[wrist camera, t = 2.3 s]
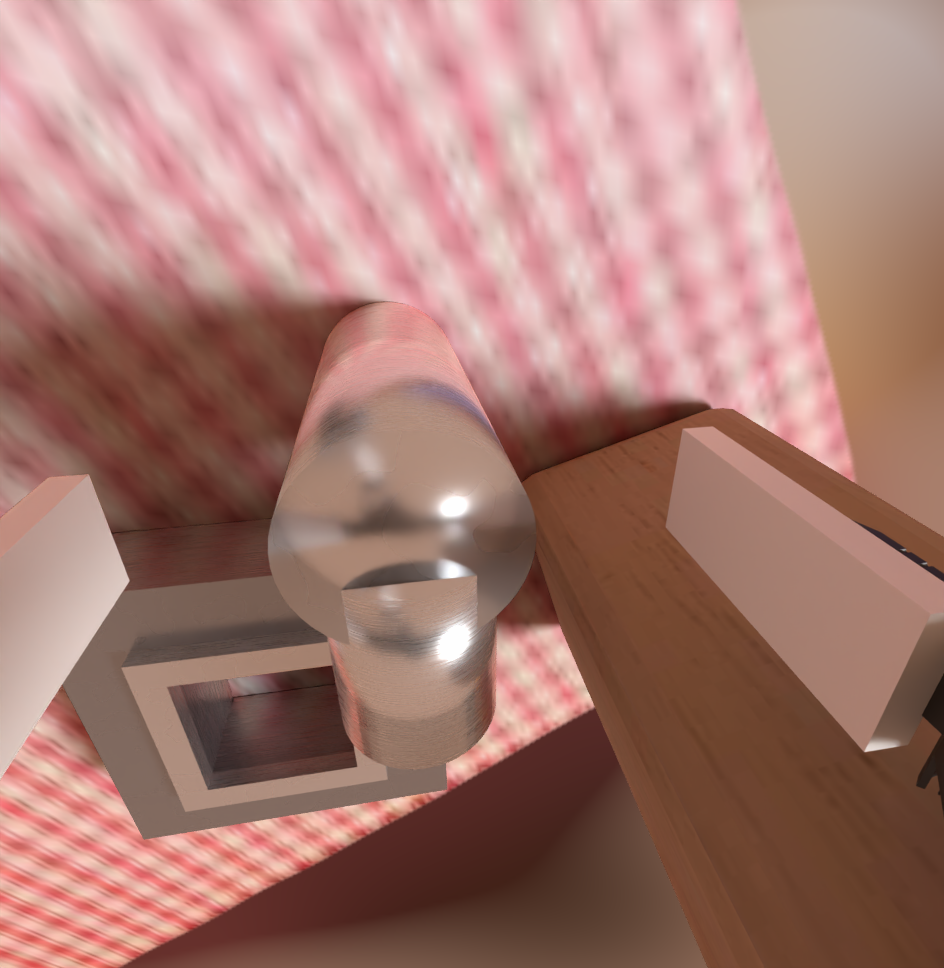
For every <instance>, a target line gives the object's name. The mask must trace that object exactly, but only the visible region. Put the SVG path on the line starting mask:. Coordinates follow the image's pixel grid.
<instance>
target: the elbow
mask: <svg viewBox="0 0 944 968" xmlns="http://www.w3.org/2000/svg"><path fill="white" fill-rule="evenodd" d="M535 548H536V522H535V517H534V511H533V509H532V506H531V503H530V500H529V498H528V496H527V494H526V492H525V490H524V488H523V486H522V484H521V482H520V480H519V478H518V476H517V474H516V472H515V470H514V468H513V466H512V464H511V462H510V460H509V458H508V456H507V454H506V452H505V450H504V448H503V446H502V445H501V443H500V441H499V439H498V437H497V435H496V433H495V431H494V429H493V427H492V425H491V423H490V421H489V419H488V417H487V415H486V413H485V411H484V409H483V407H482V405H481V403H480V401H479V399H478V397H477V395H476V393H475V392H474V390H473V388H472V386H471V384H470V382H469V380H468V378H467V376H466V374H465V372H464V370H463V368H462V366H461V364H460V362H459V360H458V358H457V356H456V354H455V352H454V350H453V348H452V346H451V344H450V342H449V341H448V339H447V337H446V335H445V333H444V332H443V331H442V329H441V328H440V326H439V325H438V324H437V323H436V322H435V321H434V320H433V319H431V318H430V317H429V316H428V315H426V314H425V313H423V312H422V311H420V310H418V309H416V308H414V307H411V306H408V305H405V304H402V303H395V302H378V303H372V304H368V305H365V306H362V307H360V308H357V309H355V310H354V311H352V312H350V313H349V314H347V315H346V316H345V317H344V318H342V319H341V320H340V321H339V322H338V323H337V324H336V326H335V327H334V328H333V330H332V331H331V333H330V335H329V337H328V339H327V341H326V343H325V346H324V349H323V352H322V356H321V359H320V362H319V366H318V369H317V372H316V375H315V379H314V382H313V385H312V389H311V392H310V395H309V398H308V402H307V405H306V408H305V412H304V415H303V418H302V422H301V425H300V428H299V431H298V435H297V438H296V441H295V445H294V448H293V451H292V454H291V458H290V461H289V464H288V468H287V471H286V474H285V477H284V481H283V484H282V487H281V491H280V494H279V497H278V500H277V504H276V507H275V510H274V514H273V517H272V520H271V524H270V530H269V535H268V558H269V564H270V569H271V572H272V575H273V578H274V582H275V584H276V586H277V587H278V589H279V591H280V593H281V595H282V597H283V598H284V599H285V601H286V602H287V604H288V605H289V606H290V608H291V609H292V610H293V611H294V612H295V613H296V614H297V615H298V616H299V617H300V618H301V619H302V620H304V621H305V622H306V623H307V624H309V625H310V626H311V627H313V628H314V629H316V630H317V631H319V632H321V633H322V634H324V635H326V636H327V640H328V646H329V651H330V656H331V662H332V667H333V672H334V678H335V683H336V688H337V693H338V699H339V704H340V709H341V715H342V720H343V725H344V728H345V731H346V733H347V735H348V737H349V739H350V740H351V742H352V743H353V744H354V746H355V747H356V748H357V749H358V750H359V751H360V752H361V753H363V754H364V755H365V756H367V757H368V758H370V759H371V760H373V761H375V762H378V763H380V764H382V765H385V766H389V767H392V768H399V769H414V770H415V769H425V768H430V767H435V766H439V765H442V764H444V763H447V762H450V761H452V760H454V759H456V758H458V757H459V756H461V755H462V754H464V753H466V752H467V751H468V750H470V749H471V748H472V747H473V746H474V745H475V744H476V743H477V742H478V741H479V740H480V739H481V738H482V737H483V735H484V734H485V732H486V731H487V729H488V727H489V725H490V723H491V721H492V718H493V715H494V712H495V706H496V636H497V615H498V614H499V613H500V612H501V611H502V610H503V609H504V608H505V607H506V606H507V605H508V604H509V603H510V602H511V600H512V599H513V598H514V597H515V595H516V594H517V593H518V591H519V590H520V588H521V586H522V585H523V583H524V581H525V580H526V577H527V575H528V573H529V570H530V568H531V565H532V562H533V558H534V554H535Z"/></svg>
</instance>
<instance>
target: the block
mask: <svg viewBox="0 0 944 968" xmlns="http://www.w3.org/2000/svg"><path fill="white" fill-rule="evenodd" d="M712 426H713V427H714V428H716V429H717V430H719V431H720V432H722V433H723V434H725V435H726V436H728V437H729V438H731V439H732V440H734V441H735V442H737V443H738V444H739V445H741V446H742V447H744V448H745V449H747V450H748V451H750V452H751V453H753V454H754V455H756V456H757V457H759V458H760V459H762V460H763V461H765V462H766V463H768V464H769V465H771V466H772V467H774V468H775V469H777V470H778V471H780V472H781V473H783V474H784V475H786V476H787V477H788V478H790V479H791V480H793V481H794V482H796V483H797V484H799V485H800V486H802V487H803V488H805V489H806V490H808V491H809V492H811V493H812V494H814V495H815V496H817V497H818V498H820V499H821V500H823V501H824V502H826V503H827V504H829V505H830V506H832V507H833V508H835V509H836V510H837V511H839V512H840V513H842V514H843V515H845V516H846V517H848V518H849V519H851V520H853V521H856V522H858V523H861V524H863V525H865V526H868V527H870V528H872V529H875V530H877V531H879V532H882V533H883V534H885V535H886V536H888V537H889V538H891V539H892V540H894V541H895V542H897V543H898V544H900V545H901V546H903V547H904V548H906V551H907V552H912V553H914V554H915V555H917V556H918V557H920V558H921V559H923V560H924V561H926V562H927V565H928V566H933V567H935V568H936V569H938V570H939V571H941V572H942V573H944V537H943V536H941V535H940V534H938V533H936V532H934V531H933V530H931V529H929V528H928V527H926V526H925V525H923V524H921V523H919V522H918V521H916V520H915V519H913V518H911V517H910V516H908V515H907V514H905V513H903V512H901V511H900V510H898V509H897V508H895V507H893V506H892V505H890V504H888V503H887V502H885V501H883V500H882V499H880V498H878V497H877V496H875V495H874V494H872V493H870V492H869V491H867V490H865V489H864V488H862V487H860V486H859V485H857V484H855V483H854V482H852V481H850V480H849V479H847V478H846V477H844V476H842V475H841V474H839V473H837V472H836V471H834V470H832V469H831V468H829V467H827V466H826V465H824V464H822V463H821V462H819V461H817V460H816V459H814V458H813V457H811V456H809V455H808V454H806V453H804V452H803V451H801V450H799V449H798V448H796V447H794V446H793V445H791V444H789V443H788V442H786V441H784V440H783V439H781V438H780V437H778V436H776V435H775V434H773V433H771V432H770V431H768V430H766V429H765V428H763V427H761V426H760V425H758V424H756V423H755V422H753V421H751V420H750V419H748V418H747V417H745V416H743V415H742V414H740V413H738V412H737V411H735V410H733V409H724V408H722V409H708V410H705V411H702V412H700V413H697V414H694V415H692V416H689V417H686V418H683V419H681V420H678V421H675V422H673V423H670V424H667V425H664V426H662V427H659V428H656V429H654V430H651V431H648V432H645V433H643V434H640V435H637V436H635V437H632V438H629V439H626V440H624V441H621V442H618V443H616V444H613V445H610V446H607V447H605V448H602V449H599V450H597V451H594V452H591V453H589V454H586V455H583V456H580V457H578V458H575V459H572V460H570V461H567V462H564V463H561V464H559V465H556V466H553V467H551V468H548V469H545V470H542V471H540V472H537V473H534V474H532V475H531V476H530V477H529V478H527V479H526V480H525V481H523V482H522V486H523V488H524V490H525V492H526V494H527V496H528V498H529V500H530V503H531V506H532V509H533V511H534V517H535V522H536V548H535V551H536V554H537V557H538V560H539V563H540V566H541V569H542V572H543V575H544V578H545V581H546V584H547V587H548V590H549V593H550V596H551V599H552V602H553V605H554V608H555V611H556V614H557V617H558V620H559V623H560V626H561V629H562V632H563V634H564V636H565V639H566V641H567V643H568V646H569V648H570V650H571V653H572V655H573V657H574V659H575V662H576V664H577V666H578V669H579V671H580V673H581V676H582V678H583V680H584V683H585V685H586V687H587V690H588V692H589V694H590V696H591V699H592V701H593V703H594V706H595V708H596V710H597V712H598V715H599V717H600V720H601V722H602V724H603V726H604V729H605V731H606V733H607V736H608V738H609V740H610V743H611V745H612V747H613V749H614V752H615V754H616V757H617V759H618V761H619V764H620V766H621V768H622V770H623V773H624V775H625V777H626V780H627V782H628V784H629V786H630V789H631V791H632V794H633V796H634V798H635V800H636V803H637V805H638V807H639V809H640V812H641V814H642V817H643V819H644V821H645V824H646V826H647V828H648V830H649V833H650V835H651V838H652V840H653V842H654V844H655V847H656V849H657V851H658V854H659V856H660V858H661V861H662V863H663V865H664V867H665V870H666V872H667V875H668V877H669V879H670V881H671V884H672V886H673V888H674V890H675V893H676V895H677V898H678V900H679V902H680V904H681V907H682V909H683V911H684V914H685V916H686V918H687V920H688V923H689V925H690V928H691V930H692V932H693V935H694V937H695V939H696V941H697V944H698V946H699V948H700V951H701V953H702V955H703V958H704V960H705V962H706V965H707V967H708V968H944V816H943V809H942V803H941V796H940V795H938V791H939V790H940V789H939V782H938V776H935V777H932V778H931V780H930V781H929V783H928V785H927V787H926V788H925V789H922V788H920V787H917V786H916V783H917V779H918V775H919V773H920V771H921V770H922V768H923V766H924V764H925V763H926V761H927V759H928V757H929V756H930V754H931V752H932V750H933V749H934V747H935V745H936V743H937V741H938V740H939V738H940V736H941V733H940V732H939V731H938V730H937V729H936V728H935V727H933V726H932V725H931V724H930V723H929V722H928V721H927V720H926V719H925V718H924V717H923V718H922V720H921V722H920V724H919V725H918V727H917V729H916V731H915V733H914V735H913V737H912V739H911V740H910V742H909V744H908V745H905V746H899V747H893V748H886V749H880V750H874V751H868V752H864V751H863V750H862V749H861V748H860V747H859V746H858V745H857V743H856V742H855V741H854V740H853V739H852V738H851V737H850V735H849V734H848V733H847V732H846V731H845V730H844V729H843V728H842V726H841V725H840V724H839V723H838V722H837V721H836V720H835V718H834V717H833V716H832V715H831V714H830V713H829V712H828V711H827V709H826V708H825V707H824V706H823V705H822V704H821V703H820V701H819V700H818V699H817V698H816V697H815V696H814V695H813V694H812V692H811V691H810V690H809V689H808V688H807V687H806V686H805V684H804V683H803V682H802V681H801V680H800V679H799V678H798V677H797V675H796V674H795V673H794V672H793V671H792V670H791V669H790V667H789V666H788V665H787V664H786V663H785V662H784V661H783V660H782V658H781V657H780V656H779V655H778V654H777V653H776V652H775V650H774V649H773V648H772V647H771V646H770V645H769V644H768V643H767V641H766V640H765V639H764V638H763V637H762V636H761V635H760V634H759V632H758V631H757V630H756V629H755V628H754V627H753V626H752V624H751V623H750V622H749V621H748V620H747V619H746V618H745V617H744V615H743V614H742V613H741V612H740V611H739V610H738V609H737V607H736V606H735V605H734V604H733V603H732V602H731V601H730V600H729V598H728V597H727V596H726V595H725V594H724V593H723V592H722V590H721V589H720V588H719V587H718V586H717V585H716V584H715V583H714V581H713V580H712V579H711V578H710V577H709V576H708V575H707V573H706V572H705V571H704V570H703V569H702V568H701V567H700V566H699V564H698V563H697V562H696V561H695V560H694V559H693V558H692V556H691V555H690V554H689V553H688V552H687V551H686V550H685V549H684V547H683V546H682V545H681V544H680V543H679V542H678V541H677V539H676V538H675V537H674V536H673V535H672V534H671V533H670V532H669V530H668V529H667V528H666V521H667V516H668V510H669V504H670V498H671V493H672V487H673V481H674V476H675V470H676V464H677V458H678V453H679V447H680V441H681V435H682V430H683V429H685V428H698V427H712Z"/></svg>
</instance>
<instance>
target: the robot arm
mask: <svg viewBox="0 0 944 968" xmlns="http://www.w3.org/2000/svg"><path fill="white" fill-rule="evenodd" d="M666 528H667V529H668V530H669V532H670V533H671V534H672V535H673V536H674V537H675V538H676V539H677V541H678V542H679V543H680V544H681V545H682V546H683V547H684V549H685V550H686V551H687V552H688V553H689V554H690V555H691V556H692V558H693V559H694V560H695V561H696V562H697V563H698V564H699V566H700V567H701V568H702V569H703V570H704V571H705V572H706V573H707V575H708V576H709V577H710V578H711V579H712V580H713V581H714V583H715V584H716V585H717V586H718V587H719V588H720V589H721V590H722V592H723V593H724V594H725V595H726V596H727V597H728V598H729V600H730V601H731V602H732V603H733V604H734V605H735V606H736V607H737V609H738V610H739V611H740V612H741V613H742V614H743V615H744V617H745V618H746V619H747V620H748V621H749V622H750V623H751V624H752V626H753V627H754V628H755V629H756V630H757V631H758V632H759V634H760V635H761V636H762V637H763V638H764V639H765V640H766V641H767V643H768V644H769V645H770V646H771V647H772V648H773V649H774V650H775V652H776V653H777V654H778V655H779V656H780V657H781V658H782V660H783V661H784V662H785V663H786V664H787V665H788V666H789V667H790V669H791V670H792V671H793V672H794V673H795V674H796V675H797V677H798V678H799V679H800V680H801V681H802V682H803V683H804V684H805V686H806V687H807V688H808V689H809V690H810V691H811V692H812V694H813V695H814V696H815V697H816V698H817V699H818V700H819V701H820V703H821V704H822V705H823V706H824V707H825V708H826V709H827V711H828V712H829V713H830V714H831V715H832V716H833V717H834V718H835V720H836V721H837V722H838V723H839V724H840V725H841V726H842V728H843V729H844V730H845V731H846V732H847V733H848V734H849V735H850V737H851V738H852V739H853V740H854V741H855V742H856V743H857V745H858V746H859V747H860V748H861V749H862V750H863V751H864V752H868V751H874V750H880V749H886V748H893V747H899V746H905V745H908V744H909V742H910V740H911V739H912V737H913V735H914V733H915V731H916V729H917V727H918V725H919V724H920V722H921V720H922V718H923V717H924V718H925V719H926V720H927V721H928V722H929V723H930V724H931V725H932V726H933V727H935V728H936V729H937V730H938V731H939V732H940V733H941V736H940V738H939V740H938V741H937V743H936V745H935V747H934V749H933V750H932V752H931V754H930V756H929V757H928V759H927V761H926V763H925V764H924V766H923V768H922V770H921V771H920V773H919V775H918V779H917V783H916V786H917V787H920V788H922V789H925V788H926V787H927V785H928V783H929V781H930V780H931V778H932V777H935V776H938V782H939V789H940V790H939V791H938V795H940V796H941V803H942V809H943V816H944V573H942V572H941V571H939V570H938V569H936V568H935V567H933V566H928V565H927V562H926V561H924V560H923V559H921V558H920V557H918V556H917V555H915V554H914V553H912V552H907V551H906V548H904V547H903V546H901V545H900V544H898V543H897V542H895V541H894V540H892V539H891V538H889V537H888V536H886V535H885V534H883V533H882V532H879V531H877V530H875V529H872V528H870V527H868V526H865V525H863V524H861V523H858V522H856V521H853V520H851V519H849V518H848V517H846V516H845V515H843V514H842V513H840V512H839V511H837V510H836V509H835V508H833V507H832V506H830V505H829V504H827V503H826V502H824V501H823V500H821V499H820V498H818V497H817V496H815V495H814V494H812V493H811V492H809V491H808V490H806V489H805V488H803V487H802V486H800V485H799V484H797V483H796V482H794V481H793V480H791V479H790V478H788V477H787V476H786V475H784V474H783V473H781V472H780V471H778V470H777V469H775V468H774V467H772V466H771V465H769V464H768V463H766V462H765V461H763V460H762V459H760V458H759V457H757V456H756V455H754V454H753V453H751V452H750V451H748V450H747V449H745V448H744V447H742V446H741V445H739V444H738V443H737V442H735V441H734V440H732V439H731V438H729V437H728V436H726V435H725V434H723V433H722V432H720V431H719V430H717V429H716V428H714V427H713V426H712V427H698V428H685V429H683V430H682V435H681V441H680V447H679V453H678V458H677V464H676V470H675V476H674V481H673V487H672V493H671V498H670V504H669V510H668V516H667V521H666ZM128 583H129V578H128V576H127V573H126V570H125V568H124V565H123V562H122V560H121V557H120V555H119V552H118V549H117V547H116V544H115V542H114V539H113V536H112V534H111V531H110V528H109V526H108V523H107V521H106V518H105V515H104V513H103V510H102V508H101V505H100V502H99V500H98V497H97V494H96V492H95V489H94V487H93V484H92V481H91V479H90V476H89V474H85V475H72V476H59V477H48V478H47V479H46V480H45V481H44V482H42V483H41V484H40V485H39V486H38V487H36V488H35V489H34V490H33V491H32V492H30V493H29V494H28V495H27V496H26V497H25V498H23V499H22V500H21V501H20V502H19V503H17V504H16V505H15V506H14V507H13V508H11V509H10V510H9V511H8V512H7V513H6V514H4V515H3V516H2V517H1V518H0V779H1V778H2V776H3V775H4V773H5V771H6V770H7V768H8V767H9V765H10V764H11V762H12V761H13V759H14V758H15V756H16V755H17V753H18V752H19V750H20V748H21V747H22V745H23V744H24V742H25V741H26V739H27V738H28V736H29V735H30V733H31V732H32V730H33V728H34V727H35V725H36V724H37V722H38V721H39V719H40V718H41V716H42V715H43V713H44V712H45V710H46V709H47V707H48V705H49V704H50V702H51V701H52V699H53V698H54V696H55V695H56V693H57V692H58V690H59V689H60V687H61V685H62V684H63V682H64V681H65V679H66V678H67V676H68V675H69V673H70V672H71V670H72V669H73V667H74V666H75V664H76V662H77V661H78V659H79V658H80V656H81V655H82V653H83V652H84V650H85V649H86V647H87V646H88V644H89V643H90V641H91V639H92V638H93V636H94V635H95V633H96V632H97V630H98V629H99V627H100V626H101V624H102V623H103V621H104V619H105V618H106V616H107V615H108V613H109V612H110V610H111V609H112V607H113V606H114V604H115V603H116V601H117V600H118V598H119V596H120V595H121V593H122V592H123V590H124V589H125V587H126V586H127V584H128Z"/></svg>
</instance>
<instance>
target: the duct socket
mask: <svg viewBox="0 0 944 968" xmlns="http://www.w3.org/2000/svg"><path fill="white" fill-rule="evenodd" d="M271 520H272V518H271V519H261V520H250V521H239V522H229V523H218V524H207V525H197V526H186V527H175V528H164V529H154V530H143V531H132V532H122V533H111V534H112V536H113V539H114V542H115V544H116V547H117V549H118V552H119V555H120V557H121V560H122V562H123V565H124V568H125V570H126V573H127V576H128V578H129V583H128V584H127V586H126V587H125V589H124V590H123V592H122V593H121V595H120V596H119V598H118V600H117V601H116V603H115V604H114V606H113V607H112V609H111V610H110V612H109V613H108V615H107V616H106V618H105V619H104V621H103V623H102V624H101V626H100V627H99V629H98V630H97V632H96V633H95V635H94V636H93V638H92V639H91V641H90V643H89V644H88V646H87V647H86V649H85V650H84V652H83V653H82V655H81V656H80V658H79V659H78V661H77V662H76V664H75V666H74V667H73V669H72V670H71V672H70V673H69V675H68V676H67V678H66V679H65V681H64V682H63V684H62V685H63V687H64V689H65V691H66V693H67V695H68V697H69V699H70V701H71V702H72V704H73V706H74V708H75V710H76V712H77V714H78V716H79V718H80V720H81V721H82V723H83V725H84V727H85V729H86V731H87V733H88V735H89V737H90V738H91V740H92V742H93V744H94V746H95V748H96V750H97V752H98V754H99V755H100V757H101V759H102V761H103V763H104V765H105V767H106V769H107V771H108V772H109V774H110V776H111V778H112V780H113V782H114V784H115V786H116V788H117V789H118V791H119V793H120V795H121V797H122V799H123V801H124V803H125V805H126V806H127V808H128V810H129V812H130V814H131V816H132V818H133V820H134V822H135V823H136V825H137V827H138V829H139V831H140V833H141V835H142V837H143V839H150V838H156V837H162V836H168V835H174V834H180V833H186V832H192V831H198V830H204V829H211V828H217V827H223V826H229V825H235V824H241V823H247V822H253V821H259V820H265V819H271V818H277V817H283V816H289V815H295V814H302V813H308V812H314V811H320V810H326V809H332V808H338V807H344V806H350V805H356V804H362V803H368V802H374V801H380V800H386V799H393V798H399V797H405V796H411V795H417V794H423V793H429V792H435V791H441V790H447V776H446V763H444V764H442V765H439V766H435V767H430V768H425V769H415V770H414V769H399V768H392V767H389V766H385V765H382V764H380V763H378V762H375V761H373V760H371V759H370V758H368V757H367V756H365V755H364V754H363V753H361V752H360V751H359V750H358V749H357V748H356V747H355V746H354V744H353V743H352V742H351V740H350V739H349V737H348V735H347V733H346V731H345V728H344V725H343V720H342V715H341V709H340V704H339V699H338V693H337V688H336V684H333V685H325V686H318V687H311V688H303V689H296V690H288V691H281V692H274V693H266V694H259V695H251V696H244V697H237V698H233V696H232V693H231V689H230V686H229V683H228V680H227V679H231V678H239V677H247V676H254V675H262V674H270V673H277V672H285V671H293V670H300V669H308V668H316V667H323V666H331V665H332V662H331V656H330V651H329V646H328V640H327V636H326V635H324V634H322V633H321V632H319V631H317V630H316V629H314V628H313V627H311V626H310V625H309V624H307V623H306V622H305V621H304V620H302V619H301V618H300V617H299V616H298V615H297V614H296V613H295V612H294V611H293V610H292V609H291V608H290V606H289V605H288V604H287V602H286V601H285V599H284V598H283V597H282V595H281V593H280V591H279V589H278V587H277V586H276V584H275V582H274V578H273V575H272V572H271V569H270V564H269V558H268V535H269V530H270V524H271Z"/></svg>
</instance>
